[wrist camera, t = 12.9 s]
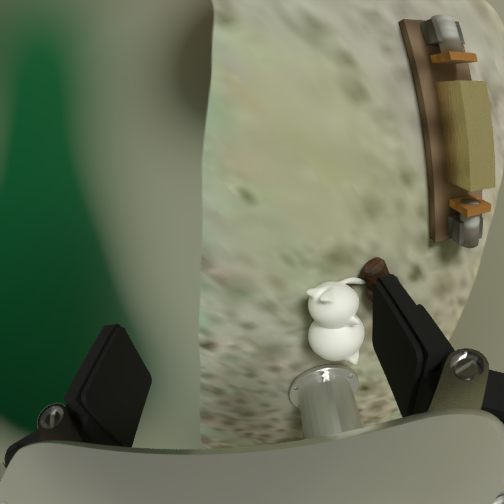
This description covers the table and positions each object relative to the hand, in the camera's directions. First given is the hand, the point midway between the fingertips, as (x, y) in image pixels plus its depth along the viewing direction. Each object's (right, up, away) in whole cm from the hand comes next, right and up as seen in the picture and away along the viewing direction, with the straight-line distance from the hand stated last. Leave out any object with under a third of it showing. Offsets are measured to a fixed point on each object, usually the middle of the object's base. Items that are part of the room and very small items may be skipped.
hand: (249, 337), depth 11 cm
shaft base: (+26, +19, +21) cm, 39 cm away
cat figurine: (+12, -5, +33) cm, 35 cm away
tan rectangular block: (+26, +18, +20) cm, 38 cm away
